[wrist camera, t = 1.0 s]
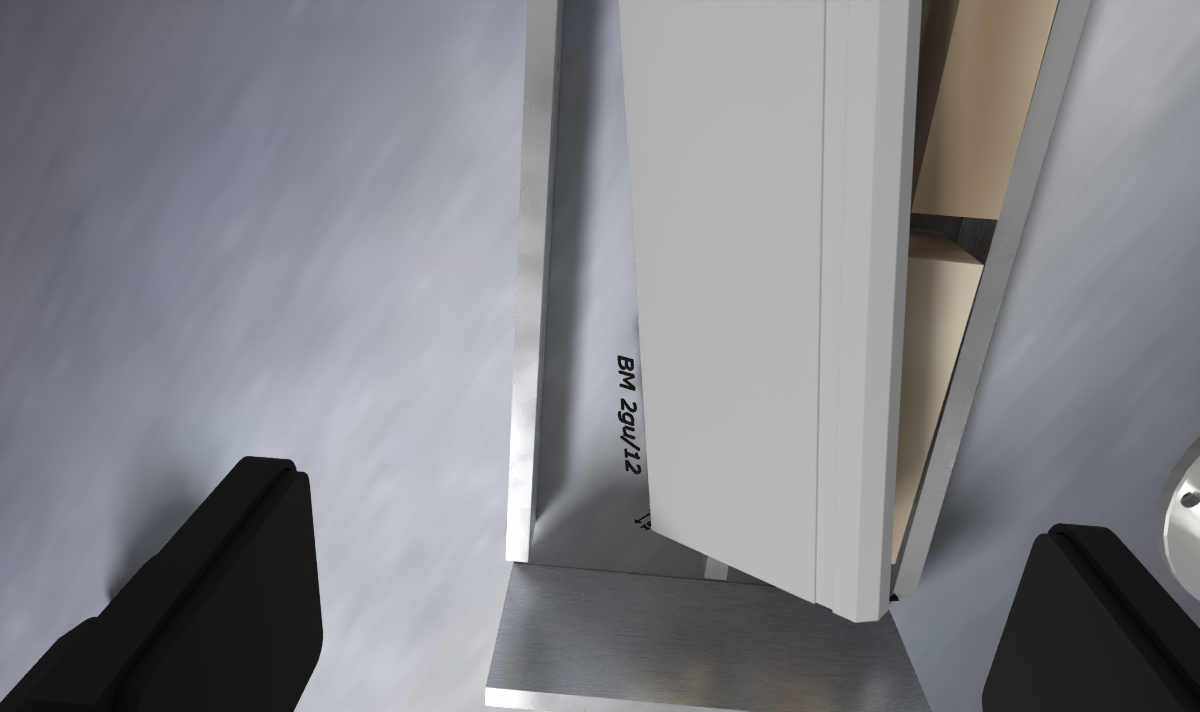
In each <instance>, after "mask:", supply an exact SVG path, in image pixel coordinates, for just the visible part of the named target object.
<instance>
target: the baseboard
mask: <svg viewBox="0 0 1200 712" xmlns="http://www.w3.org/2000/svg"><path fill="white" fill-rule="evenodd" d="M618 3H619V19H620V35H621V51H622V67H623V83H624V99H625V115H626V131H627V147H628V162H629V178H630V194H631V210H632V226H633V242H634V258H635V274H636V290H637V306H638V322H639V338H640V354H641V370H642V386H643V402H644V418H645V434H646V450H647V466H648V482H649V498H650V510H649V511H650V513H649V514H647V515H646V516H644V517H642V518H641V519H639V520H636V519H635V523H642V522H640V520H642V519H643V518H645V517H647V516H648V515H650V514H651V521H649V522H647V525H648V526H651V530H652V531H654V532H657V533H659V534H661V535H663V536H665V537H668V538H670V539H672V540H674V541H676V542H679V543H681V544H683V545H685V546H688V547H690V548H692V549H694V550H696V551H699V552H701V553H703V554H705V555H707V556H710V557H712V558H714V559H716V560H718V561H721V562H723V563H725V564H727V565H729V566H732V567H734V568H736V569H738V570H740V571H743V572H745V573H747V574H749V575H752V576H754V577H756V578H758V579H760V580H763V581H765V582H767V583H769V584H771V585H774V586H776V587H778V588H780V589H782V590H785V591H787V592H789V593H791V594H793V595H796V596H798V597H800V598H802V599H805V600H807V601H809V602H811V603H813V604H815V603H819V604H821V605H823V606H825V607H828V608H830V609H832V612H833V613H835V614H837V615H840V616H842V617H844V618H846V619H849V620H851V621H853V622H855V623H857V622H867V621H878V620H879V619H880V618H881V617H882V616H883V615H884V614H885V613H886V612H887V611H888V610H889V601H899V599H898V597H897V596H896V594H895V593H894V594H893V595H892V596H890V576H891V558H892V540H893V521H894V503H895V485H896V467H897V448H898V430H899V412H900V393H901V375H902V357H903V338H904V320H905V302H906V283H907V265H908V247H909V229H910V210H911V192H912V174H913V155H914V137H915V119H916V100H917V82H918V64H919V46H920V27H921V9H922V0H618ZM621 360H625V367H624V366H622V364H621ZM628 361H629V362H631V368H630V367H629V366H628ZM618 365H619V367H620V368H621V369H622V370H625V369H628V370H629V371H632V370H633V369H634V361H633V359H630V358H627V357H623V356H618ZM619 373H620V374H623V375H627V376H630V377H628V378H624V379H623V381H624V382H625V383H627V384H628V385H629V386H628V385H624V384H620V387H623V388H626V389H629V390H633V391H635V386H634V385H632V384H631V383H630V382H629V381H627V380H630V379H633V378H635V376H634V374H631V373H628V372H624V371H619ZM624 405H625V406H626V408H627V409H628V410H629V411H630V412H632V413H634V412H636V411H637V405H636V403H635V402H633V406H634V409H632V408H630V406H629V405H628V404H627V402H626V401H625V400H624V399H623V398H621V410H624ZM625 415H627V416H629V417H630V418H631V422H629V421H626V419H625ZM618 418H619V420H620V421H621V422H622V423H625V424H628V425H631V426H634V417H633V416H632V415H631V414H630V413H628V412H625V413H623V414H622V418H621V411H618ZM626 429H627V430H630V431H635V429H634V428H631V427H628V426H624V427H623V433H624V434H623V436H625V437H628V438H631V439H633V440H634V439H635V437H634V436H632V435H629V434H627V433H626ZM623 436H620V437H621V439H623V440H624V441H625V442H627V443H628V444H629V445H631V446H632V447H634V448H635V449H636V450H638V451H640V448H639V447H637V446H636V445H634V444H633V443H632V442H630V441H629V440H627V439H626V438H625V437H623ZM624 452H625V458H627V457H628V456H630V457H633V458H636V459H638V460H639V459H640V457H639V456H638V453H637V452H636V453H635V455H634V454H631V453H629V452H627V449H626V448H625V449H624ZM625 466H626V471H629V467H630V469H631V470H632V471H633V472H634V473H635V474H640V473H641V467H640V465H637V468H638V471H636V470H635V469H634V468H633V466H632V465H631V464H630V462H629V461H628V460H625ZM628 466H629V467H628ZM649 523H651V524H649ZM643 527H644V528H646V529H645V530H650V528H649V527H647V526H646V525H645V524H644V525H643V526H641V528H643ZM889 597H890V598H889Z"/></svg>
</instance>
